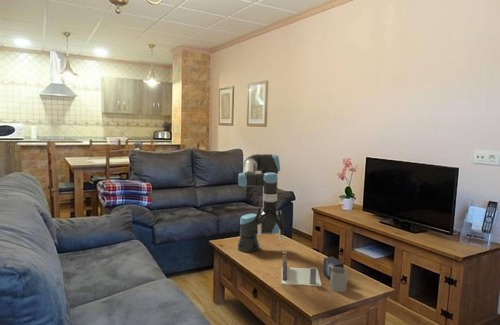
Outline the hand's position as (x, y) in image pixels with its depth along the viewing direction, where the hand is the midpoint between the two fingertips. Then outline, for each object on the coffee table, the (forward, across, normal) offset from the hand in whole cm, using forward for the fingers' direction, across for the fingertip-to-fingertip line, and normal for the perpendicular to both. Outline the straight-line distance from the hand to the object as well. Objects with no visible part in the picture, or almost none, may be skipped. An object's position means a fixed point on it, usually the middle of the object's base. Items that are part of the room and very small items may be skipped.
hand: (269, 237), depth 198 cm
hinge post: (+22, +11, -2) cm, 25 cm away
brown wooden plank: (+21, +6, +7) cm, 23 cm away
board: (+22, +16, +8) cm, 28 cm away
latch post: (+22, +25, +3) cm, 34 cm away
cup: (+22, +38, +6) cm, 45 cm away
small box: (+22, +32, +16) cm, 42 cm away
